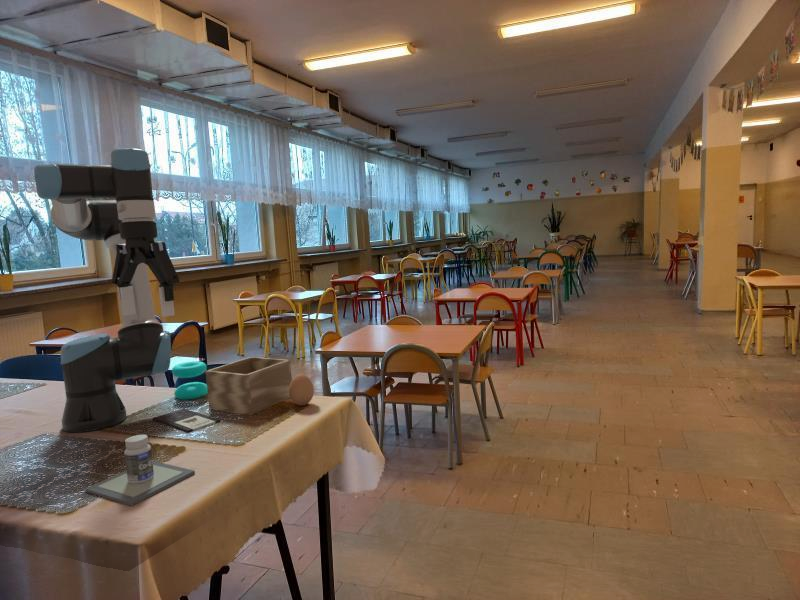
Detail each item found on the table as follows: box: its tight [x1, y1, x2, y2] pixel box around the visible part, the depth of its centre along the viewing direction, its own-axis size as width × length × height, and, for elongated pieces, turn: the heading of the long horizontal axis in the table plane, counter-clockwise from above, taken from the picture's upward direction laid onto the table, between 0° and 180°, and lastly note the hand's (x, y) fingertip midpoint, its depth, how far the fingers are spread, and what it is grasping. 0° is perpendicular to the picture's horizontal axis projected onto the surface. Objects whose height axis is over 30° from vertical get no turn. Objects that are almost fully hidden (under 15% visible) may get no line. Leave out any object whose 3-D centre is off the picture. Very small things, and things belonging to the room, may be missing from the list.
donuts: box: [171, 360, 208, 401], centre depth 164 cm, size 10×10×10 cm
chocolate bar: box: [152, 408, 221, 433], centre depth 141 cm, size 9×1×18 cm
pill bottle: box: [123, 434, 154, 484], centre depth 105 cm, size 5×5×8 cm
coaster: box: [84, 460, 196, 506], centre depth 105 cm, size 14×14×1 cm
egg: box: [289, 373, 315, 407], centre depth 148 cm, size 7×7×9 cm
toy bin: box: [204, 356, 293, 416], centre depth 153 cm, size 16×18×11 cm
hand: (148, 315), depth 121 cm, fingers open, 13 cm apart
